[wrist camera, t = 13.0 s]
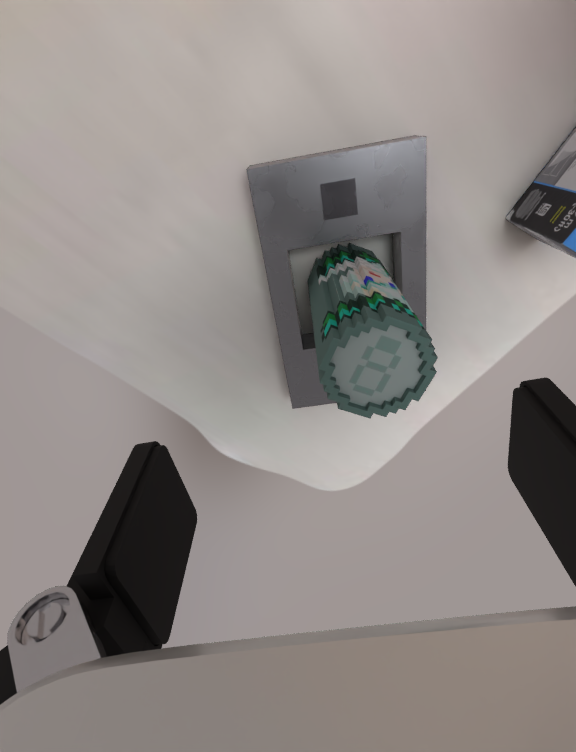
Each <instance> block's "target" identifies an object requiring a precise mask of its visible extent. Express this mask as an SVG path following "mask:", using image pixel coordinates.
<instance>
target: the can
mask: <svg viewBox="0 0 576 752" xmlns="http://www.w3.org/2000/svg"><path fill="white" fill-rule="evenodd" d="M308 287H309V298H310V306H311V314H312V322H313V330H314V339H315V347H316V355H317V363H318V372H319V380H320V383H321V384H323V388H324V391H325V392H327V397H328V399H329V400H333V401H336V402H337V405H338V409H341V410H344V411H348V412H351V413H354V414H357V415H361V416H364V417H367V418H371V416H372V415H373V413H375V414H378V415H381V416H384V417H386V416H387V415H388V413H389V412H392V413H395V414H396V412H397V410H398V409H399V408H400V409H403V410H406V408H407V406H408V405H409V403H410V402H411V400H412V399H413V400H416V401H419V399H420V398H421V396H422V395H423V393H424V391H425V390H426V388H427V387H428V385H429V384H430V382H431V380H432V379H433V377H434V376H435V374H436V370H435V368H434V367H433V364H434V363H435V361H436V360H437V358H438V357H437V355H436V354H435V352H434V349H435V348H434V346H433V345H432V343H431V341H432V339H431V337H430V336H429V334H428V333H427V331H426V330H425V328H424V327H423V325H422V324H421V322H420V321H419V319H418V318H417V316H416V315H415V313H414V312H413V310H412V309H411V307H410V306H409V304H408V303H407V301H406V300H405V298H404V296H403V295H402V293H401V292H400V290H399V289H398V287H397V286H396V284H395V283H394V281H393V280H392V278H391V277H390V275H389V274H388V272H387V271H386V269H385V268H384V266H383V265H382V263H381V262H380V260H379V259H377V258H376V256H375V255H374V253H373V252H372V251H370V250H367V249H364V248H362V247H359V246H356V245H354V244H351V243H349V245H348V248H347V247H345V246H342V245H339V244H338V246H337V249H335V248H333V247H332V248H331V250H330V252H329V251H326V250H325V252H324V254H323V257H322V259H318V258H317V259H316V261H315V264H314V266H313V269H312V271H311V274H310V276H309V279H308Z"/></svg>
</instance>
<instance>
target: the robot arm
mask: <svg viewBox="0 0 576 752" xmlns="http://www.w3.org/2000/svg"><path fill="white" fill-rule="evenodd" d="M508 471H509V475H510V477H511V479H512V481H513V483H514V484H515V486H516V488H517V489H518V491H519V493H520V494H521V496H522V497H523V499H524V501H525V503H526V504H527V506H528V508H529V509H530V511H531V513H532V514H533V516H534V518H535V519H536V521H537V523H538V524H539V526H540V527H541V529H542V531H543V533H544V534H545V536H546V538H547V539H548V541H549V543H550V544H551V546H552V548H553V549H554V551H555V553H556V554H557V556H558V558H559V559H560V561H561V563H562V565H563V566H564V568H565V570H566V571H567V573H568V574H569V576H570V578H571V580H572V581H573V583H574V585H575V586H576V406H575V404H574V403H573V402H572V401H571V400H570V399H568V397H567V396H566V395H565V394H564V393H563V392H562V391H561V390H560V389H559V388H558V387H557V386H556V385H555V384H554V383H553V382H552V381H551V380H550V379H548V378H540V379H534V380H528V381H523V382H521V384H520V387H519V388H515V389H514V391H513V400H512V414H511V428H510V443H509V456H508ZM196 524H197V513H196V509H195V507H194V505H193V503H192V501H191V499H190V496H189V494H188V492H187V490H186V488H185V486H184V484H183V482H182V479H181V477H180V475H179V473H178V471H177V469H176V467H175V465H174V462H173V460H172V458H171V456H170V454H169V452H168V449H167V448H166V447H165V446H164V445H162V446H161V445H160V444H159V443H158V442H156V441H154V442H148V443H142V444H137V445H135V447H134V448H133V450H132V452H131V454H130V456H129V458H128V460H127V462H126V464H125V467H124V469H123V471H122V473H121V475H120V477H119V479H118V481H117V483H116V485H115V487H114V489H113V492H112V493H111V495H110V498H109V500H108V502H107V504H106V506H105V508H104V510H103V512H102V514H101V516H100V518H99V520H98V522H97V524H96V527H95V529H94V531H93V533H92V535H91V537H90V539H89V541H88V543H87V545H86V547H85V549H84V551H83V554H82V555H81V557H80V560H79V562H78V564H77V566H76V568H75V570H74V572H73V574H72V576H71V578H70V580H69V582H68V584H67V586H56V587H53V588H50V589H47V590H45V591H43V592H41V593H40V594H38V595H36V596H35V597H34V598H32V599H31V600H30V601H29V602H28V603H26V604H25V606H24V607H23V608H22V609H21V610H20V611H19V612H18V614H17V615H16V617H15V618H14V620H13V621H12V623H11V626H10V628H9V631H8V637H7V644H8V645H7V646H6V647H5V648H3V649H2V650H1V651H0V752H576V607H563V608H550V609H538V610H526V611H516V612H506V613H496V614H485V615H476V616H465V617H455V618H444V619H434V620H425V621H424V620H423V621H414V622H404V623H395V624H384V625H374V626H364V627H355V628H345V629H336V630H326V631H316V632H306V633H297V634H287V635H279V636H269V637H261V638H252V639H241V640H232V641H223V642H214V643H204V644H196V645H187V646H180V647H171V648H163V649H161V648H162V644H166V643H167V641H168V639H169V637H170V633H171V629H172V625H173V620H174V616H175V612H176V607H177V604H178V599H179V595H180V591H181V587H182V582H183V578H184V574H185V570H186V565H187V562H188V557H189V553H190V549H191V545H192V541H193V536H194V532H195V528H196Z"/></svg>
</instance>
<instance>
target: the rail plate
mask: <svg viewBox="0 0 576 752" xmlns="http://www.w3.org/2000/svg"><path fill="white" fill-rule="evenodd" d="M247 174H248V180H249V185H250V190H251V195H252V200H253V206H254V211H255V216H256V221H257V226H258V231H259V237H260V242H261V247H262V252H263V257H264V263H265V268H266V273H267V278H268V283H269V288H270V294H271V299H272V304H273V309H274V314H275V320H276V325H277V330H278V335H279V340H280V345H281V351H282V356H283V361H284V366H285V371H286V377H287V382H288V387H289V392H290V397H291V402H292V408H293V409H294V408H301V407H309V406H316V405H324V404H331V403H337V402H336V401H333V400H329V399H328V397H327V392H325V391H324V388H323V384H321V383H320V380H319V372H318V363H317V355H316V347H315V339H314V333H310V334H303V335H302V331H301V325H300V319H299V312H298V306H297V300H296V294H295V288H294V282H293V275H292V269H291V263H290V257H289V251H288V250H293V249H299V248H305V247H311V246H317V245H323V244H329V243H335V242H341V241H347V240H353V239H359V238H365V237H371V236H377V235H384V234H390V233H393V253H394V280H395V284H396V286H397V287H398V289H399V290H400V292H401V293H402V295H403V296H404V298H405V300H406V301H407V303H408V304H409V306H410V307H411V309H412V310H413V312H414V313H415V315H416V316H417V318H418V319H419V321H420V322H421V324H422V325H423V327H424V328H425V330H426V137H425V136H416V135H414V136H409V137H403V138H398V139H392V140H387V141H381V142H376V143H370V144H365V145H359V146H354V147H349V148H343V149H338V150H332V151H327V152H321V153H316V154H310V155H305V156H299V157H294V158H289V159H283V160H278V161H272V162H267V163H261V164H256V165H250V166H249V167H248V168H247ZM425 391H426V390H425Z"/></svg>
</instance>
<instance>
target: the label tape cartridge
mask: <svg viewBox="0 0 576 752" xmlns="http://www.w3.org/2000/svg"><path fill="white" fill-rule="evenodd" d="M506 220H508V221H509V222H511V223H512V224H514V225H515V226H517V227H519V228H520V229H522V230H523V231H525V232H526V233H528V234H529V235H531V236H533V237H534V238H536V239H538V240H539V241H542V242H544V243H546V244H548V245H550V246H552V247H554V248H556V249H558V250H560V251H563V252H565V253H567V254H569V255H571V256H573V257H575V258H576V128H575V129H574V130H573V132H572V133H571V134H570V135H569V137H568V138H567V139H566V141H565V142H564V143H563V144H562V146H561V147H560V148H559V150H558V151H557V152H556V154H555V155H554V156H553V157H552V159H551V160H550V161H549V163H548V164H547V165H546V166H545V168H544V169H543V170H542V171H541V173H540V174H539V175H538V177H537V178H536V179H535V180H534V182H533V183H532V184H531V186H530V187H529V188H528V190H527V191H526V192H525V194H524V195H523V196H522V197H521V199H520V200H519V201H518V203H517V204H516V205H515V206H514V208H513V209H512V210H511V212H510V213H509V214H508V216H507V217H506Z"/></svg>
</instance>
